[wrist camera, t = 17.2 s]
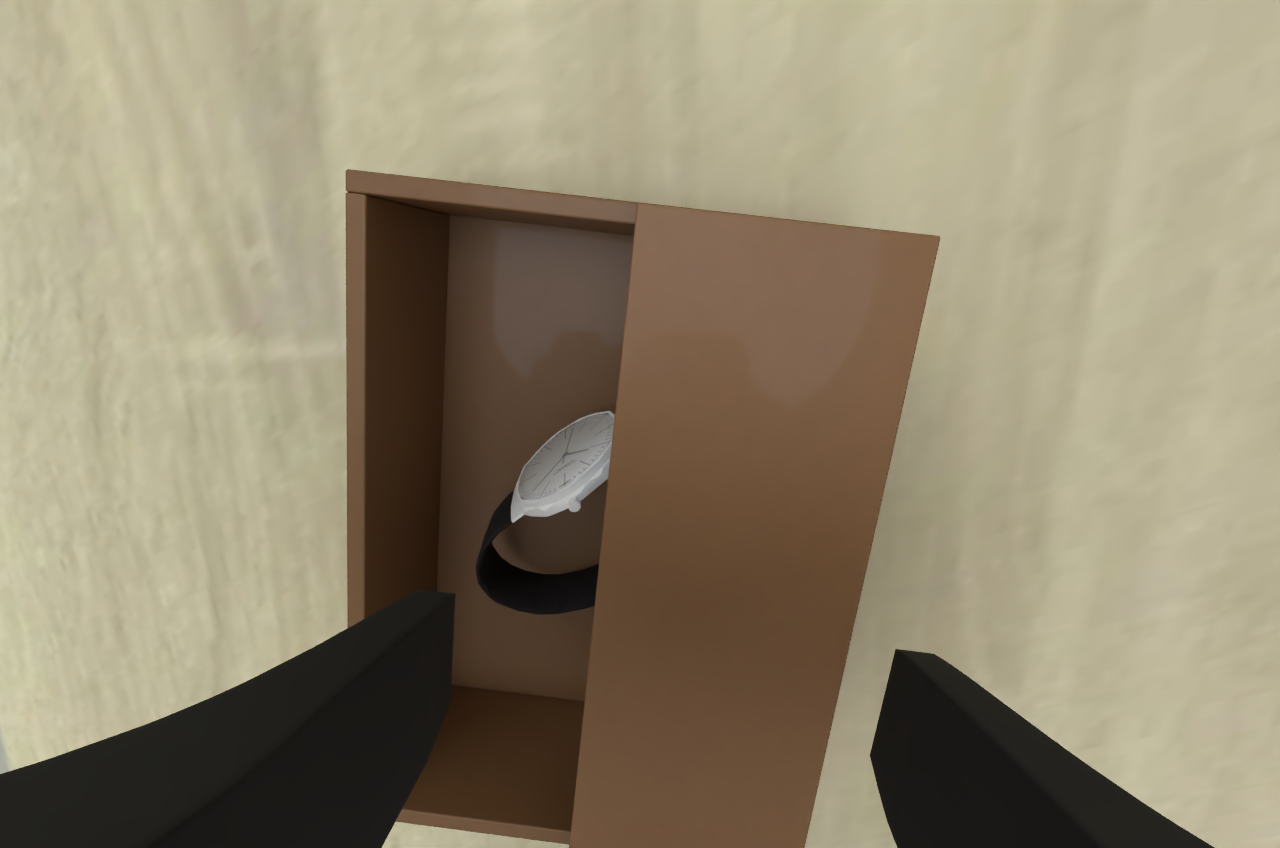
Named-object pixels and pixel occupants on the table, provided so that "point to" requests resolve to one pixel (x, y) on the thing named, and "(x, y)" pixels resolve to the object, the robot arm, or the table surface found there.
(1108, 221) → the table surface
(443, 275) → the carton
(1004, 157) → the table surface
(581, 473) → the watch
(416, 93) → the table surface
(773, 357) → the flap
